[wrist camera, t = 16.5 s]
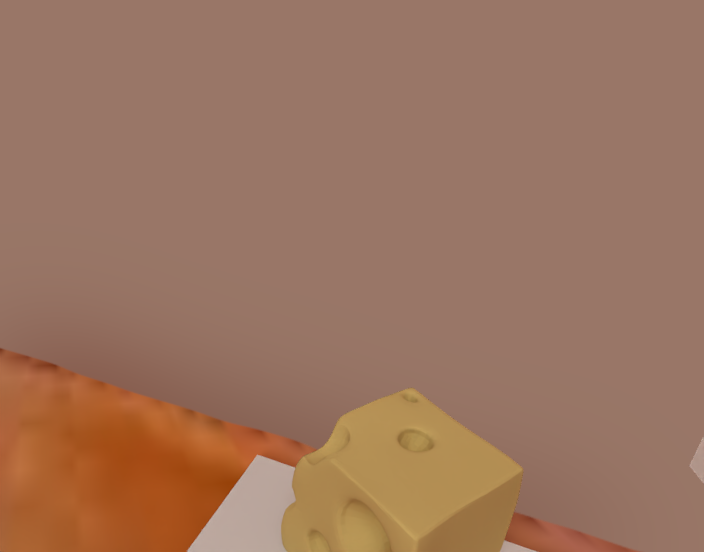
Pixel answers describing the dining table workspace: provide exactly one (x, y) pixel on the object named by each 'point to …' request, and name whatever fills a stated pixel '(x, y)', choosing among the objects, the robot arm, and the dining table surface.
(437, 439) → the cheese
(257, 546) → the mat
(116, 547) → the dining table surface
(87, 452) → the dining table surface
